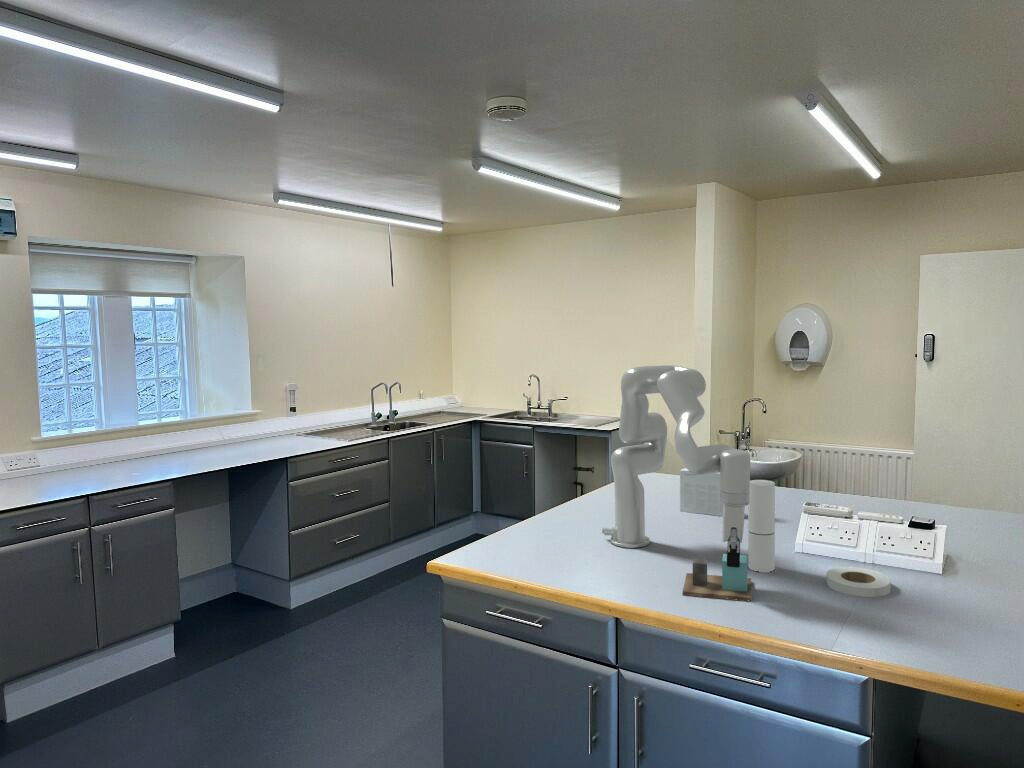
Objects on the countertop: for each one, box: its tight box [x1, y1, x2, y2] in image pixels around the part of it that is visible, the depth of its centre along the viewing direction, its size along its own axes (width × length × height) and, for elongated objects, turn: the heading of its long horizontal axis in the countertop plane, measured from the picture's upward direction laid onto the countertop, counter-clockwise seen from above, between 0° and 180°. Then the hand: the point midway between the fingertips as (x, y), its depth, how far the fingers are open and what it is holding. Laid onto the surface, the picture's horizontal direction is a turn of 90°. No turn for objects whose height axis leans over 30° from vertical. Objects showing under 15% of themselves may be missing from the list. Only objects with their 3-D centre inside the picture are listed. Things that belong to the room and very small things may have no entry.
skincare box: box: [679, 467, 724, 517], centre depth 259 cm, size 21×5×16 cm, turn 58°
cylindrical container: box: [747, 479, 776, 573], centre depth 199 cm, size 7×7×25 cm
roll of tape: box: [825, 566, 892, 598], centre depth 185 cm, size 16×15×3 cm
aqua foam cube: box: [721, 553, 748, 592], centre depth 184 cm, size 6×6×8 cm
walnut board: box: [682, 558, 752, 602], centre depth 186 cm, size 17×14×7 cm
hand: (733, 560), depth 184 cm, fingers open, 9 cm apart
